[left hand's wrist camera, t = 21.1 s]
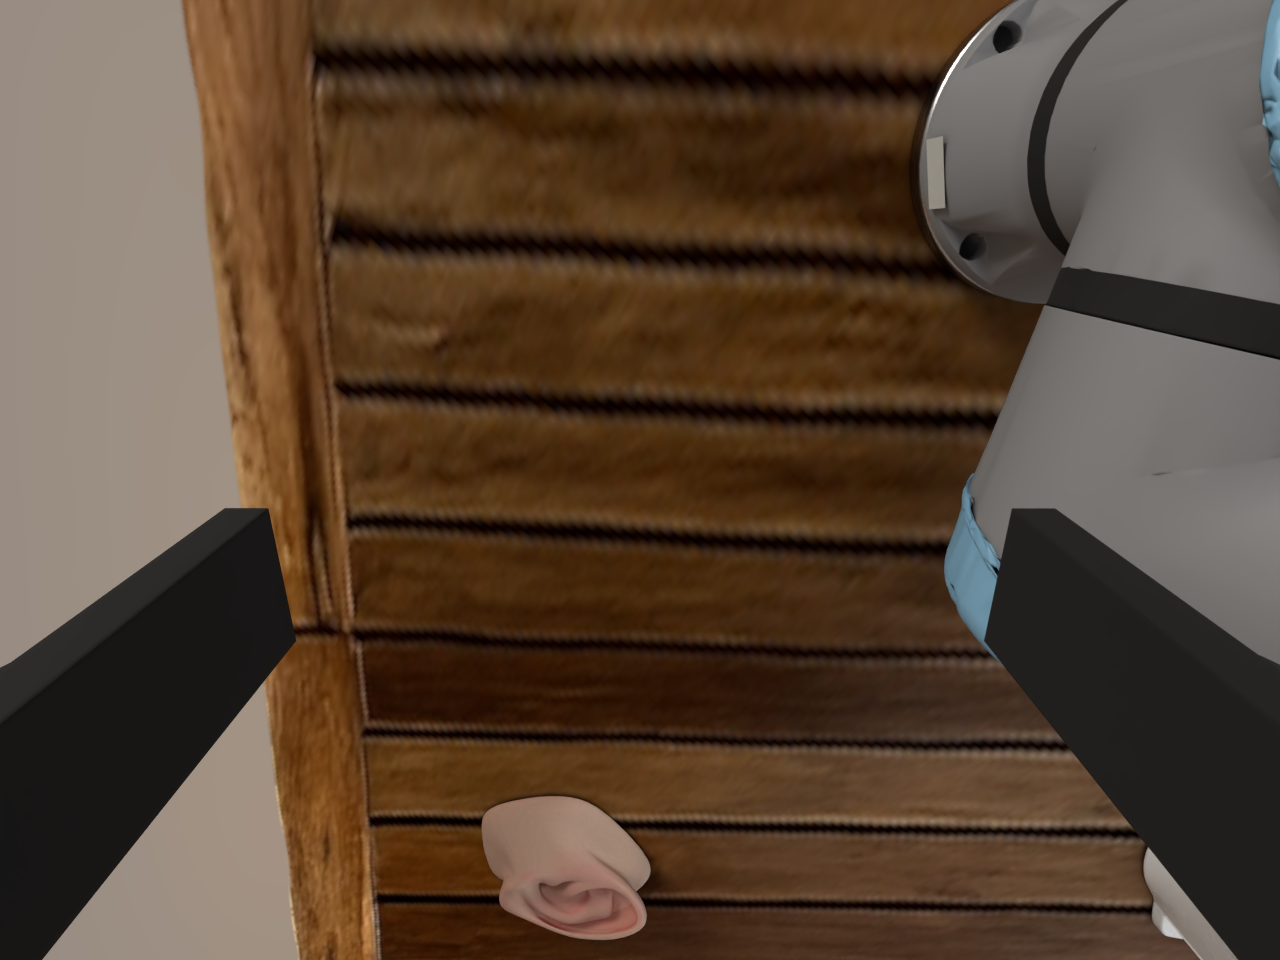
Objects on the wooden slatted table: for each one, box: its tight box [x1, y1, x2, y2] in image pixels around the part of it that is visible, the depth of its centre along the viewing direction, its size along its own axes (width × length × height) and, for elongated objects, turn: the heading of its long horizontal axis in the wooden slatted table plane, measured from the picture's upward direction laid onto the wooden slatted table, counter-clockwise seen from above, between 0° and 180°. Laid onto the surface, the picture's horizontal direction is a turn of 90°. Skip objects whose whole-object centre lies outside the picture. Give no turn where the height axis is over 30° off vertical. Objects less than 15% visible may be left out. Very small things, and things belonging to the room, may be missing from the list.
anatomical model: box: [482, 796, 651, 940], centre depth 53 cm, size 13×4×12 cm
